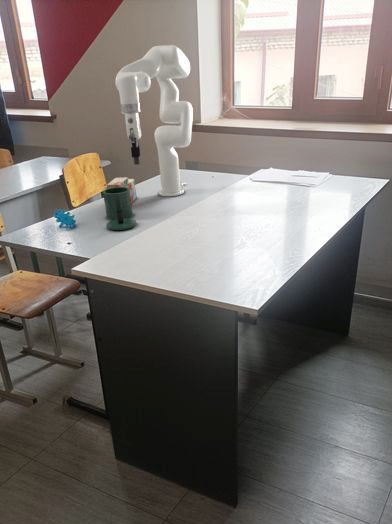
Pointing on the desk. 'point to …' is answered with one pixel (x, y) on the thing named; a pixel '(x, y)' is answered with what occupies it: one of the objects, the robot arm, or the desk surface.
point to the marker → (136, 159)
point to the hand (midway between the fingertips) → (136, 156)
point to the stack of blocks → (124, 183)
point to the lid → (121, 222)
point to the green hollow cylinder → (117, 202)
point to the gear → (65, 219)
